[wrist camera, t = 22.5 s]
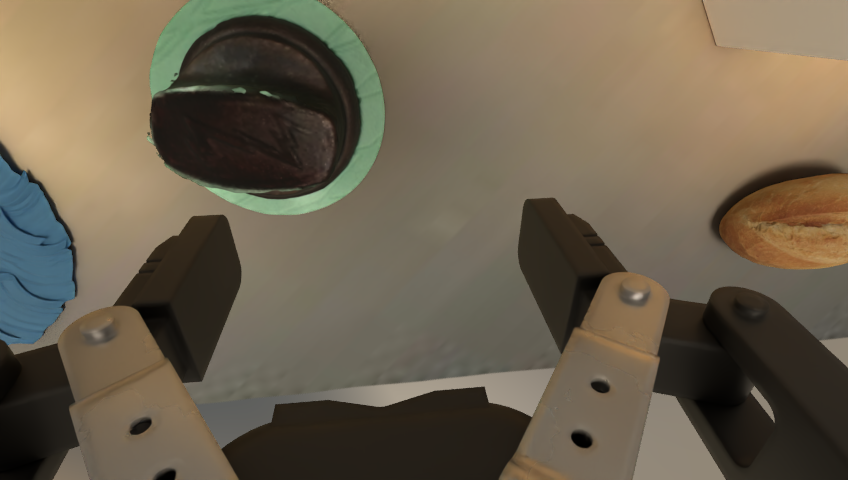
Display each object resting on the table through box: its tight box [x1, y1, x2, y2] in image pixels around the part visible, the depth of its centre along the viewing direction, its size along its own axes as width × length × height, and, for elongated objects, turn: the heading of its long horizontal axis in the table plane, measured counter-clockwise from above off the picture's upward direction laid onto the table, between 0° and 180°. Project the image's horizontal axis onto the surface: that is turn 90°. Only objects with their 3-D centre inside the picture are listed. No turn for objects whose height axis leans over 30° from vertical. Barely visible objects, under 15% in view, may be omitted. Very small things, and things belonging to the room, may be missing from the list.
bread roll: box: [719, 173, 848, 269], centre depth 44 cm, size 10×15×8 cm, turn 99°
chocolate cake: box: [147, 0, 385, 215], centre depth 37 cm, size 15×19×20 cm
